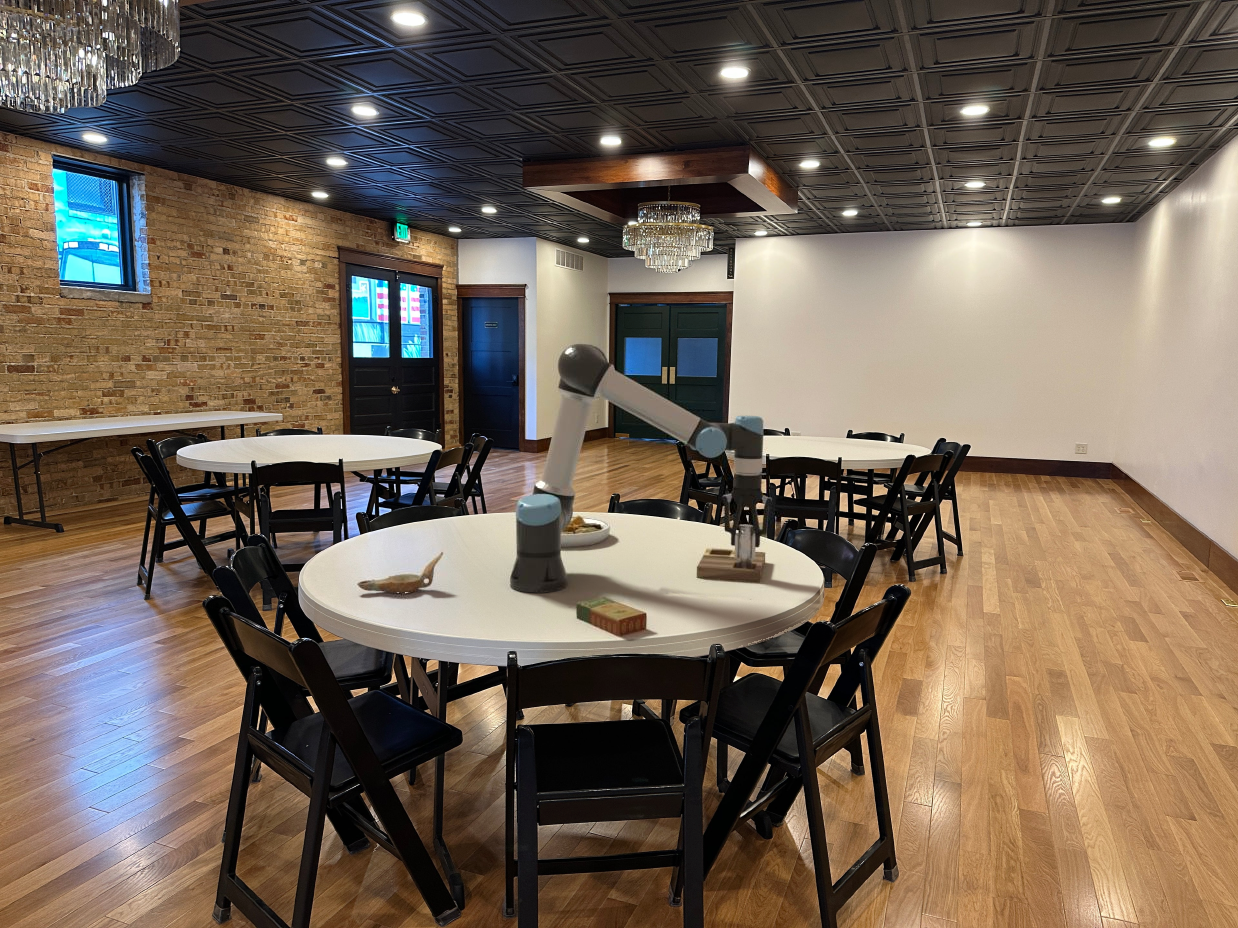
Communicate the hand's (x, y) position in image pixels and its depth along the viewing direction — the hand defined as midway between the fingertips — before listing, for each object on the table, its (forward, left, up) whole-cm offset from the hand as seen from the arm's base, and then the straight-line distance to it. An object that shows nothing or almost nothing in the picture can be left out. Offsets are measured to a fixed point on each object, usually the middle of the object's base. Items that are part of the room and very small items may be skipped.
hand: (744, 557), depth 219 cm
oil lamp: (-35, +84, -7) cm, 92 cm away
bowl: (+35, +62, -7) cm, 72 cm away
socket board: (+6, +4, -6) cm, 9 cm away
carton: (-45, +26, -7) cm, 53 cm away
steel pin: (0, 0, -5) cm, 5 cm away
